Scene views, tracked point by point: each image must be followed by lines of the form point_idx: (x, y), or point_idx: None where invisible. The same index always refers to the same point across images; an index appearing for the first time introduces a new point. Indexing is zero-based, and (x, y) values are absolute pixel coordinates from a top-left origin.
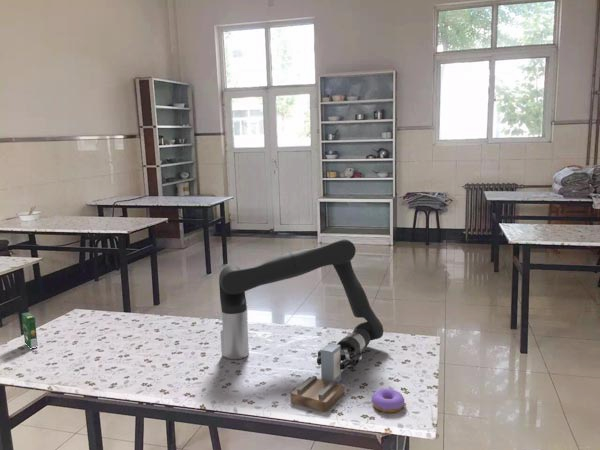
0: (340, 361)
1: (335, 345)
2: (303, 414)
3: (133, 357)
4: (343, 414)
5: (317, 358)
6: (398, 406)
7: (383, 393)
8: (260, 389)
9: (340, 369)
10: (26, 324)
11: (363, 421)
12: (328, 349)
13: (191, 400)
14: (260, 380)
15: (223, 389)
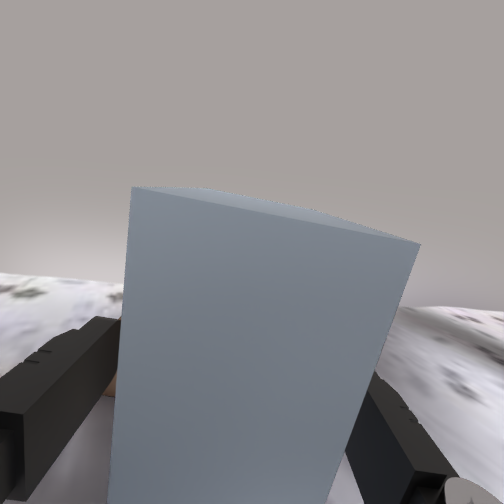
0: (112, 487)
1: (233, 201)
2: None
3: None
4: (107, 295)
5: (390, 389)
6: None
7: None
8: (410, 355)
9: (115, 367)
10: None
11: (44, 280)
12: (257, 199)
13: (437, 307)
14: (495, 405)
15: (465, 340)
